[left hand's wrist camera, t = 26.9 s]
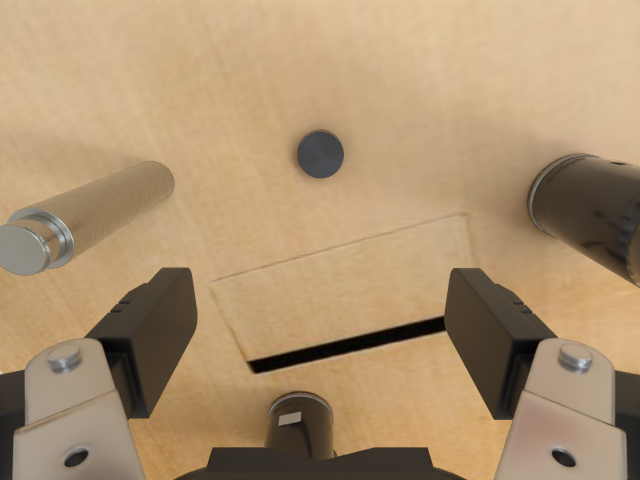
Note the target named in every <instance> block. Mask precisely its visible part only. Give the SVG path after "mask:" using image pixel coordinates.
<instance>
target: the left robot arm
mask: <svg viewBox="0 0 640 480" xmlns="http://www.w3.org/2000/svg"><path fill="white" fill-rule="evenodd" d="M620 162H621V161H620ZM620 162H616V160H615V161H611V160H607V159H602V158H600V157H597V156H593V155H588V154H574V155H569V156H566V157H563V158H561V159H559V160H557V161H555V162H554V163H552V164H551V165H549V166H548V167H547V168H546V169H544V170H543V171H542V172H541V174H540V175H539V176H538V177H537V179H536V180H535V182H534V184H533V186H532V188H531V190H530V193H529V197H528V212H529V215H530V218H531V220H532V221H533V223H534V224H535V225H536V226H537V227H538V228H539V229H540V230H542V231H543V232H545V233H547V234H549V235H552V236H554V237H555V238H557V239H559V240H560V241H562V242H563V243H565V244H567V245H568V246H570V247H572V248H573V249H575V250H577V251H578V252H580V253H582V254H584V255H585V256H587V257H589V258H590V259H592V260H594V261H595V262H597V263H599V264H600V265H602V266H604V267H605V268H607V269H609V270H610V271H612V272H614V273H615V274H617V275H619V276H620V277H622V278H624V279H625V280H627V281H629V282H630V283H632V284H634V285H635V286H637V287H639V288H640V167H638V165H637V166H633V164H632V165H629V163H628V164H624V163H625V162H624V163H620ZM110 311H111V312H110V313H108V314H107V315H106V316H105V317H104V318H103V319H102V320H101V321H100V322H99V323H98V324H97V325H96V326H95V327H94V328H93V329H92V330H91V331H90V332H89V333H88V334H87V335H86V336H85V337H84V338H78V339H72V340H67V341H64V342H61V343H58V344H55V345H53V346H51V347H49V348H47V349H45V350H43V351H42V352H40V353H39V354H37V355H36V356H35V357H34V358H33V359H31V360H30V362H29V363H28V364H27V366H26V368H25V370H21V371H16V372H11V373H6V374H1V375H0V480H146V477H145V474H144V471H143V467H142V464H141V461H140V458H139V455H138V452H137V449H136V446H135V443H134V440H133V436H132V433H131V430H130V427H129V424H128V420H129V418H149V417H150V415H151V413H152V411H153V409H154V407H155V406H156V404H157V402H158V400H159V398H160V396H161V394H162V392H163V391H164V389H165V387H166V385H167V383H168V381H169V379H170V377H171V376H172V374H173V372H174V370H175V368H176V366H177V364H178V362H179V361H180V359H181V357H182V355H183V353H184V351H185V349H186V347H187V345H188V344H189V342H190V340H191V338H192V336H193V334H194V332H195V330H196V326H197V307H196V300H195V293H194V286H193V279H192V274H191V271H190V269H189V268H162V269H160V270H159V272H158V273H157V274H156V275H155V276H154V277H153V278H152V279H151V280H150V281H149V282H148V283H144V284H142V285H140V286H138V287H137V288H135V289H133V290H131V291H129V292H128V293H127V294H126V295H125V296H124V297H123V298H122V299H121V300H120V301H119V304H116V305H115V306H114V307H113V308H112V309H111V310H110ZM444 319H445V327H446V331H447V333H448V335H449V337H450V339H451V341H452V342H453V344H454V346H455V348H456V350H457V352H458V354H459V355H460V357H461V359H462V361H463V363H464V365H465V367H466V368H467V370H468V372H469V374H470V376H471V378H472V380H473V381H474V383H475V385H476V387H477V389H478V391H479V393H480V394H481V396H482V398H483V400H484V402H485V404H486V405H487V407H488V409H489V411H490V413H491V415H492V417H493V418H494V420H513V421H512V424H511V427H510V430H509V433H508V436H507V440H506V443H505V446H504V449H503V452H502V455H501V458H500V461H499V464H498V467H497V471H496V474H495V477H494V480H640V375H636V374H631V373H626V372H621V371H616V370H615V368H614V366H613V364H612V363H611V362H610V360H609V359H607V358H606V357H605V356H604V355H603V354H601V353H600V352H598V351H597V350H595V349H593V348H591V347H589V346H587V345H585V344H582V343H579V342H576V341H573V340H568V339H562V338H558V337H557V336H556V335H555V334H554V333H553V332H552V331H551V330H550V329H549V328H548V327H547V326H546V325H545V324H544V323H543V322H542V321H541V320H540V319H539V318H538V317H537V316H536V315H535V314H532V311H531V310H530V309H529V308H528V307H527V306H526V305H524V303H523V301H522V300H521V299H520V298H519V297H518V296H517V295H516V294H515V293H514V292H512V291H510V290H508V289H506V288H505V287H503V286H501V285H499V284H494V283H493V282H492V280H491V279H490V278H489V277H488V276H487V275H486V274H485V273H484V272H483V271H482V270H481V269H480V268H454V269H453V270H452V271H451V274H450V279H449V286H448V293H447V300H446V307H445V315H444ZM174 480H466V479H464V478H462V477H460V476H458V475H456V474H454V473H451V472H448V471H446V470H443V469H440V468H436V467H433V464H432V461H431V458H430V454H429V451H428V448H427V447H375V448H371V449H367V450H363V451H359V452H355V453H351V454H347V455H343V456H339V457H335V458H331V459H327V460H313V459H309V458H305V457H301V456H297V455H293V454H289V453H285V452H281V451H277V450H273V449H269V448H265V447H213V448H212V451H211V454H210V458H209V461H208V464H207V467H204V468H200V469H197V470H194V471H192V472H189V473H186V474H184V475H182V476H180V477H178V478H176V479H174Z"/></svg>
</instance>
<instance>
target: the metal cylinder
mask: <svg viewBox="0 0 640 480" xmlns="http://www.w3.org/2000/svg"><path fill="white" fill-rule="evenodd" d="M173 189H174V179H173V176H172V174H171V172H170V171H169V170H168V169H167V168H166V167H165V166H164V165H162V164H160V163H158V162H145V163H143V164H140V165H137V166H135V167H132V168H129V169H127V170H124V171H121V172H119V173H116V174H113V175H111V176H108V177H105V178H103V179H100V180H97V181H95V182H92V183H89V184H87V185H84V186H81V187H79V188H76V189H73V190H71V191H68V192H65V193H63V194H60V195H57V196H55V197H52V198H49V199H47V200H44V201H41V202H39V203H36V204H33V205H31V206H28V207H26V208H23V209H20V210H18V211H16V212H15V213H14V214H12V216H11V217H10V218H9V220H8V222H7V224H5V225H2V226H0V266H2V267H3V268H4V269H6V270H7V271H9V272H12V273H14V274H18V275H33V274H36V273H40V272H43V271H45V270H46V269H54V268H58V267H61V266H63V265H65V264H67V263H68V262H70V261H71V260H73V259H74V258H76V257H77V256H79V255H80V254H82V253H83V252H85V251H86V250H88V249H89V248H91V247H92V246H94V245H95V244H97V243H99V242H100V241H102V240H103V239H105V238H106V237H108V236H109V235H111V234H112V233H114V232H115V231H117V230H118V229H120V228H121V227H123V226H124V225H126V224H127V223H129V222H130V221H132V220H134V219H135V218H137V217H138V216H140V215H141V214H143V213H144V212H146V211H147V210H149V209H150V208H152V207H153V206H155V205H156V204H158V203H159V202H161V201H162V200H164V199H165V198H167V197H168V196H169V195H170V194H171V193H172V191H173Z"/></svg>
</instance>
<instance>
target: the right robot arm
mask: <svg viewBox="0 0 640 480" xmlns="http://www.w3.org/2000/svg"><path fill="white" fill-rule="evenodd" d="M264 447H265V448H269V449H273V450H277V451H281V452H285V453H289V454H293V455H297V456H301V457H305V458H309V459H313V460H327V459H331V458H335V457H337V454H336V452H335V451H334V449H333V413H332V410H331V408H330V406H329V405H328V403H327V402H326V401H325V400H323V399H322V398H320V397H319V396H316V395H314V394H311V393H305V392H295V393H290V394H286V395H284V396H282V397H280V398H279V399H277V400H276V401H275V402H274V403H273V404H272V406H271V408H270V410H269V415H268V426H267V432H266V437H265V444H264Z"/></svg>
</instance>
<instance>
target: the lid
mask: <svg viewBox="0 0 640 480" xmlns="http://www.w3.org/2000/svg"><path fill="white" fill-rule="evenodd" d="M343 158H344V152H343V147H342V145H341V143H340V141H339V139H338V138H337V137H336V136H335V135H334V134H333V133H331V132H329V131H327V130H315V131H312V132H310V133H308V134H307V135H306V136H305V137H304V138H303V140H302V141H301V143H300V146H299V149H298V161H299V164H300V166H301V168H302V169H303V170H304V171H305V172H306V173H307V174H308V175H310V176H312V177H315V178H326V177H329V176H331V175H333V174H334V173H336V172H337V171H338V170H339V168H340V167H341V165H342V162H343Z"/></svg>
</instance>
